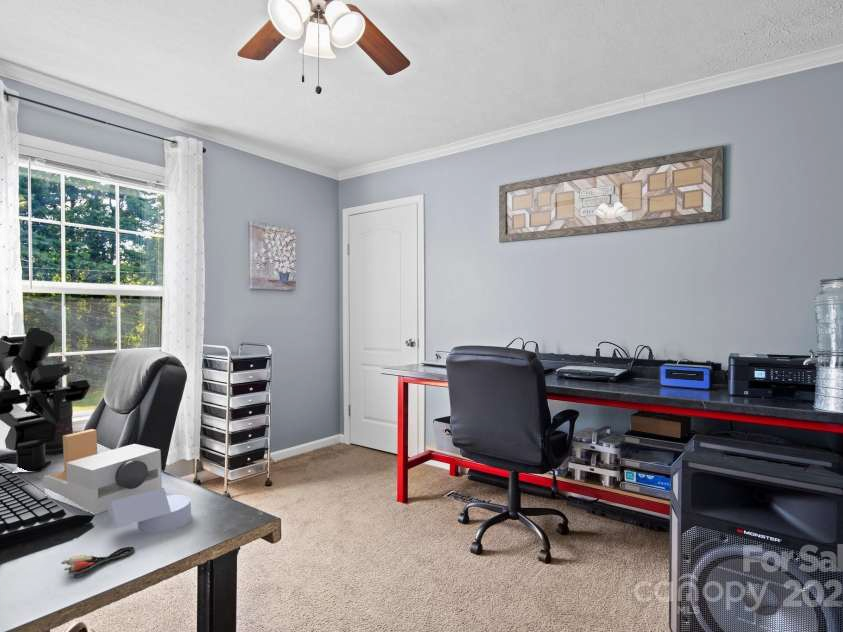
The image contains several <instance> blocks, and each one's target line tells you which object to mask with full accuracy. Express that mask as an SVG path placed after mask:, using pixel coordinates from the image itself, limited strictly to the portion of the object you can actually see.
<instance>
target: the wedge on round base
mask: <svg viewBox="0 0 843 632" xmlns="http://www.w3.org/2000/svg"><path fill="white" fill-rule="evenodd" d="M191 500H192V499H191V497H190V496H188V495H185V494H171V495H170V494H169V495H167V494H166V490H165V488H164V487H163V486H162V488H160V489H156V490H152V491H148V492H144V493H140V494H137V495H133V496H129V497H125V498H121V499H117V500H113V501H111V503H110V506H109V509H108V510H107V513H108V515H109V516H110V519H111V520H112V521H113V524H114V526H115V527H116V529H118V528H123V527H126V526H129V525H133V524H135V523H137V530H138V531H139V532H140V533H143V534H160V533H167V532H171V531H173V530H176V529H179V528H180V526H181V527H183V526H184V524H185V523H186V524H187V523H189V522H190V520H191V519H192V504H191ZM190 518H191V519H190ZM188 521H189V522H188ZM186 524H185V525H186ZM182 525H183V526H182ZM178 527H179V528H178Z"/></svg>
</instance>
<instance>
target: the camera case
mask: <svg viewBox="0 0 843 632" xmlns="http://www.w3.org/2000/svg"><path fill="white" fill-rule="evenodd" d="M161 454H162V453H161V449H159V448H154V447H150V446H146V445H141V444H137V443H133V444H129V445H125V446H121V447H118V448H113V449H110V450H105V451H103V452H99V453H97V454H96V455H92V456H88V457H85V458H81V459H78V460H74V461H70V462H67V463H66V468H67V481H65V480H62V479H59V478H56V477H53V476H50V475H51V474H50V475H49V474H46V475H43V489H44V488H46V489H49V490H51V491H53V492H55V493H58V494H60V495H62V496H64V497H65V498H68V499H69V500H71V501H73V502H75V503H76V504H78V505H79V506H81V507H83V508H84V509H86V510H88V511H89V512H92V513H94V514H95V515H94V516H96V515H98V514H101V513H103V512H105V511H106V512H107V511H108V509H109V506H110V503H111V501H113V500H117V499H121V498H125V497H129V496H133V495H137V494H140V493H144V492H148V491H152V490H156V489H160V488H163V480H162V477H163V476H162V455H161Z"/></svg>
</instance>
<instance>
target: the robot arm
mask: <svg viewBox="0 0 843 632" xmlns="http://www.w3.org/2000/svg"><path fill="white" fill-rule="evenodd" d="M27 330H28V331H27V333H23V334H8V335H7V334H6V335H3V336H1V337H0V378H1V380H2V381H3V385H0V421H1V422H3V424H5V425H7V426H8V427H9V430H8V432H7V434H6V437H5V439H4V444H5V448H6V449H8V450H10V451H13V452H16V453H15V454H16V457H15V458H16V468H17V467H19V468H22V469H24V470H27V471H35V472H42V471H44V470H45V469H46V468H48V467H49V466H50V465H51V464H53V461H52V460H51V461H47V459H46V457H47V456H46V455H45V443H48V442H54V438H55V432H56V424H57V423H59V421H60V405H61V403H62V401H63V399H65V400H66V401H69V402H72V403H73V402H77V401H82V400H83V399H85V398H86V395H87V393H88V392H89V390H90V388H91V384H90V382H89V380H88V379H85V378H83V379H76V380H69V381H68V383H67V384H66V386H63V387H56V386H59V385H60V380H59V379H60V378H62V377H65V376H67V375H68V374H69V373H71V368H70V365H69V363H68V362H67V361H66V360H65V361H58V362H57V363H52V364H51V363H50V364H44V362H43V361H44V360H47V358H48V356H49V354H50V352H51V350H52V347H53V345H54V343H55V341H56V338H55V336H54V335H53V334H52V333H50V332H48V331H45V330H42V329H41V328H40V326H37V327H36V326H35V327H29V328H28V329H27ZM9 369H11V373H12V374H15V375H16V376H17V378H18V381H19V382H20V384H19V385H18V387H19V388H14V389H13V388H12V385H11V383H10V382H9V381H8V380H7V378H6V373H7V371H8V370H9ZM20 390H23V391H24V392H25V393H21V391H20ZM20 404H25V406H26V407H25V408H23V407H22V406H21V405H20ZM35 472H34V473H35Z"/></svg>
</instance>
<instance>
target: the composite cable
mask: <svg viewBox="0 0 843 632" xmlns="http://www.w3.org/2000/svg"><path fill="white" fill-rule="evenodd" d="M134 553H135V547H134V546H124V547H121V548H119V549H117V550H115V551H114V552H112V553H111V554H109V555H108V556H100V557H99V556H93V555H88V556H87V555H85V554H82V555H75V556H71V557H69V559H65V560H64V559H63V561H61V565H68V566H69V567H64V569H63V570H64V571H68V574H70V573H72V574H73V578H74V579H79V578H81V577H84V576H86V575H88V574H90V573H92V572H94V571H96V570H98V569H99V568H101V567H103V566H105V565H108V564H111V563H113V562H117V561H119V560H123V559H126V558H127V557H129V556H131V555H133V554H134Z"/></svg>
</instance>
